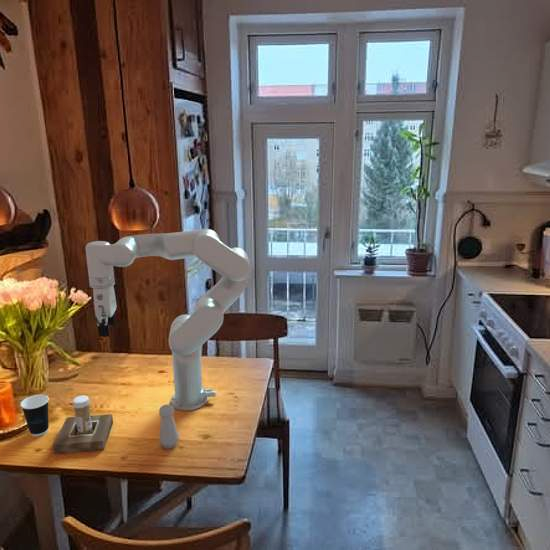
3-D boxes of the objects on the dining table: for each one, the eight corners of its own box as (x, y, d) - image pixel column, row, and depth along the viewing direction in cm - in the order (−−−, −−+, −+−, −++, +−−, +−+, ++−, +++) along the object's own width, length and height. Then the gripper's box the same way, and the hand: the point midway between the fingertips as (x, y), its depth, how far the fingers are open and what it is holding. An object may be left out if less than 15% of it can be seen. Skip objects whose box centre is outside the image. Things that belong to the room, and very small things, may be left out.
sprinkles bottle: (95, 438, 146) (90, 399, 143) (79, 443, 144) (74, 404, 140) (91, 431, 150) (86, 393, 146) (76, 435, 148) (71, 397, 144)
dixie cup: (36, 442, 145) (31, 410, 141) (20, 435, 148) (14, 403, 145) (58, 428, 151) (54, 398, 148) (42, 422, 155) (37, 392, 152)
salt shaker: (170, 436, 147) (168, 399, 144) (183, 443, 144) (180, 406, 140) (155, 445, 143) (152, 407, 139) (167, 453, 139) (164, 414, 136)
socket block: (113, 422, 154) (112, 413, 153) (104, 450, 141) (102, 440, 140) (68, 426, 153) (66, 417, 152) (54, 454, 139) (53, 444, 138)
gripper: (108, 288, 143) (114, 340, 148) (119, 272, 159) (123, 320, 164) (82, 289, 142) (89, 342, 147) (95, 273, 159) (101, 321, 163)
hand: (107, 330), depth 156 cm, fingers open, 9 cm apart
